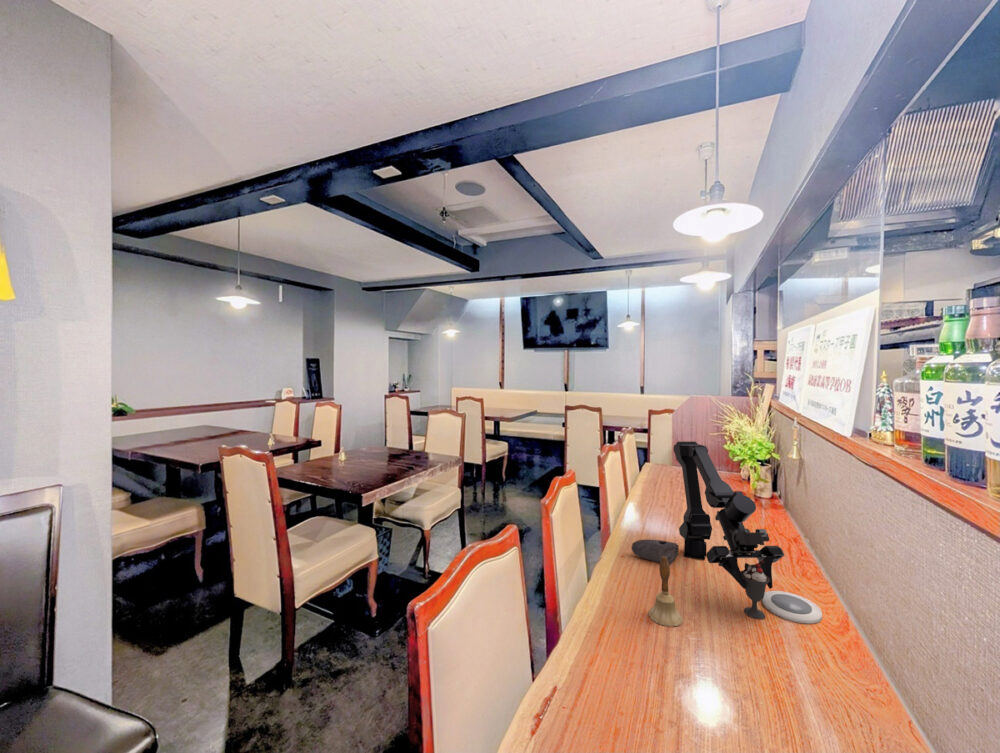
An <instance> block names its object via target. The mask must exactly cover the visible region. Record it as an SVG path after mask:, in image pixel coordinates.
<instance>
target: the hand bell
mask: <svg viewBox="0 0 1000 753" xmlns="http://www.w3.org/2000/svg"><path fill="white" fill-rule="evenodd" d="M659 576H660V578H661V592H659V593H657V594H656V596H655V602H654V605H653V606H652V607H650V609H649V610H648V617H649V616H650V617H649V618H650V619H651V620H652V621H653V622H654V623H656V624H657V623H658V624H657V625H660V626H662V625H664V626H663V627H666V626H676V627H678V626H679V627H680V626H681V624H683V621H684V620H683V617H682V615H681V613H680V612H679V611H678V610H677V607H676V600H675V598H674V596H673V594H670V591H669V590H670V589H669V578H670V576H671V566H670V563H669V562H668V560H667V557H666V556H662V559H661V561H660V562H659Z"/></svg>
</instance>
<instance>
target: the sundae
mask: <svg viewBox="0 0 1000 753" xmlns="http://www.w3.org/2000/svg"><path fill="white" fill-rule="evenodd" d="M761 562H762V563H764V562H763V561H762V560H761ZM759 563H760V562H759V561H758V563H754V564H749V563H747V562H745V563H744V569H743V570H740V571H741V574H742V576H743V578H744V581H745V584H746V588H745V589H744V590H745V594H746V596H747V597H748V599H750V600H751V606H750V607H749V606H747V607H744V608H743V613H744V614H745V615H746V616H748V617H750V618H751V619H754V620H755V619H756V620H764V619H765V618H766V614H765V613H764V612H763V611H762V610H760V609H759V608H758V603H759V602H761V601H762V599H763V597H764V594H765V593H766V587H767V583H768V582H769V581H770V578H769V577H768V576H766V575H765V574H764V573H763V570H762V569H761V568H760V564H761V563H760V564H759Z"/></svg>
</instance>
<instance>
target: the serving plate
mask: <svg viewBox="0 0 1000 753" xmlns="http://www.w3.org/2000/svg"><path fill="white" fill-rule="evenodd" d="M761 601H762V604H763V606H764V608H765V609H766V610H768V611H769V612H771V613H772V614H774V615H775V616H776V617H777V616H778V617H779V618H781V619H784V620H787V621H791V622H794V623H798V624H806V625H812V624H817V623H820V622H821V621H822V618H823V617H822V616H823V615H822V614H823V612H822V609H821V608H820V607H819V606H818V605H817V604H815V602H814V601H812V600H809V599H808V598H806V597H804V596H801V595H799V594H795V593H792V592H787V591H783V590H769V591H765V594H764V597H763V599H762V600H761Z"/></svg>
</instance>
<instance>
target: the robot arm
mask: <svg viewBox="0 0 1000 753" xmlns="http://www.w3.org/2000/svg"><path fill="white" fill-rule="evenodd" d="M673 453H674V454H675V459H676V461H677V462H678V464H679V465H680V466H681V468H682V470H681V471H682V476H683V484H684V494H685V500H686V511H685V512H684V514H683V522H682V524H681V525H680V526H679V528H678V532H679V535H680V536H681V537H682V538H683V540H684V543H683V544H684V548H683V556H684V557H685V558H686V557H687V558H692V559H697V560H702V561H705V560H706V559H707V561H708V563H709V564H717V565H718V567H722V568H723V569H724V570H725V571H726V572H727V573H728V574H729V575H730V576H731V577H732V578H733V579H735V581H736V582H737V583H738V584H739V585H740V586H741V588H743V589H744V590H745V588H746V584H745V581H744V578H743V576H742V574H741V571H742V570H741V569H740V567H739V563H738V559H756V560H757V561H758V563H759V562H760V563H761V564H760V563H759V564H760V568H761V569H762V570H763V573H764V574H765V575H766V576H768V577H769V578H770V581H769V582H768V583H767V584H766V587H768V588H769V589H772V588H774V585H773V584H774V583H773V571H772V568H773V567H772V565H773V563H776V562H778V561H780V560H781V559H782V558H783V557H785V556H786V554H785V553H784V551H783V549H782V548H781V547H780V546H778V545H765V542H769V541H770V537H769V533H768V532H767V530H766V528H757V529H755V532H754V531H753V532H751V530H750V529H749V528H746V527H745V524H744V522H745V521H747V520H748V518H750V517H751V516H752V515H753V514H754V512H756V509H757V505H756V503H755V501H754V500H752V498H750V497H749V496H748V495H745V494H744V493H743V491H742V490H741V491H738V490H736V491H734V490H733V488H732V487H731V486H730V485H729V484H728V483H727V482H725V481H724V480H723V479H722V478H721V476H720V474H719V473H718V471H717V468H716V466H715V464H714V463H713V460H712V459H711V457H710V455H709V449H708V448H707V446H706V445H703V444H699V443H697V441H695V440H694V441H693V440H692V441H688V440H687V441H686V440H685V441H684V440H683V441H681V440H680V441H677V442H675V444H674V445H673ZM698 472H699V473H698ZM699 474H700V476H701V478H702V481H703V483H704V485H705V491H704V495H705V500H706V502H707V504H708V505H709V506H710V508H712V509H720V510H718V511H716V515H715V518H714V520H715V521H719V525H720V527H721V529H722V532H723V534H724V535H723V536H722V538H723V541H726V542H727V544H728V546H729V547H727V546H726V545H713V546H711V548H710V549H709V550H708V551H707V542H706V541H705V540H708V541H710V539H711V536H712V531H713V526H712V524H711V516H710V514H707V513H706V512H705V510H704V509H703V503H702V495H701V489H700V488H701V487H700V480H699ZM759 545H760V546H763V547H762V548H760V549H758V550H757V548H758V547H759ZM761 560H762V561H763V562H764V563H762V562H761Z"/></svg>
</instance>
